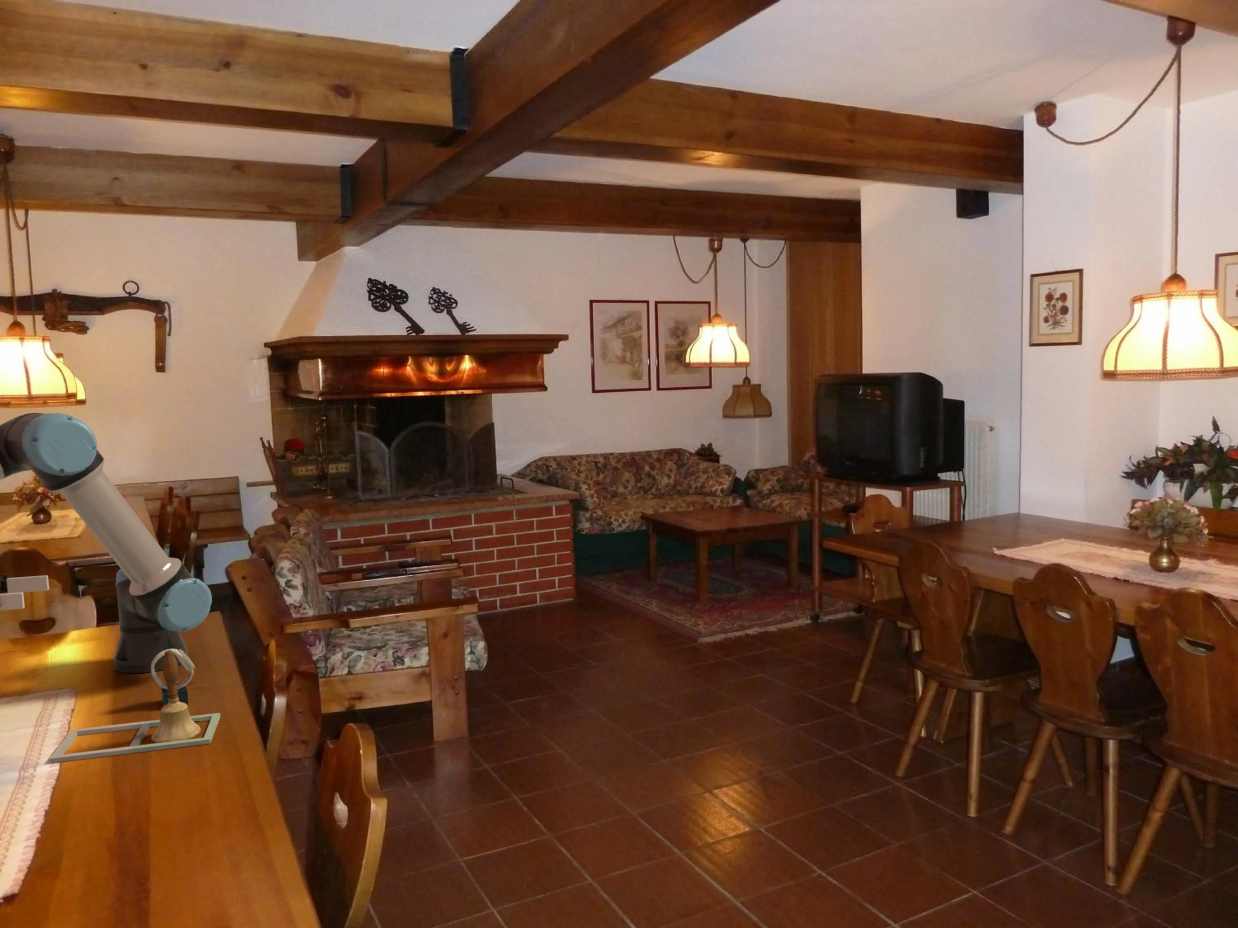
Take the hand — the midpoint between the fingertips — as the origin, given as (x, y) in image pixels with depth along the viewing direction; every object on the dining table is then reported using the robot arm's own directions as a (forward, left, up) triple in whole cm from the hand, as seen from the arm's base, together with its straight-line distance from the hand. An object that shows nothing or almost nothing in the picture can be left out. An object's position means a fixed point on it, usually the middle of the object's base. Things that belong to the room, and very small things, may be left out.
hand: (36, 591), depth 167 cm
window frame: (+4, +16, -28) cm, 32 cm away
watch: (-14, +19, -28) cm, 37 cm away
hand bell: (+4, +22, -28) cm, 36 cm away
